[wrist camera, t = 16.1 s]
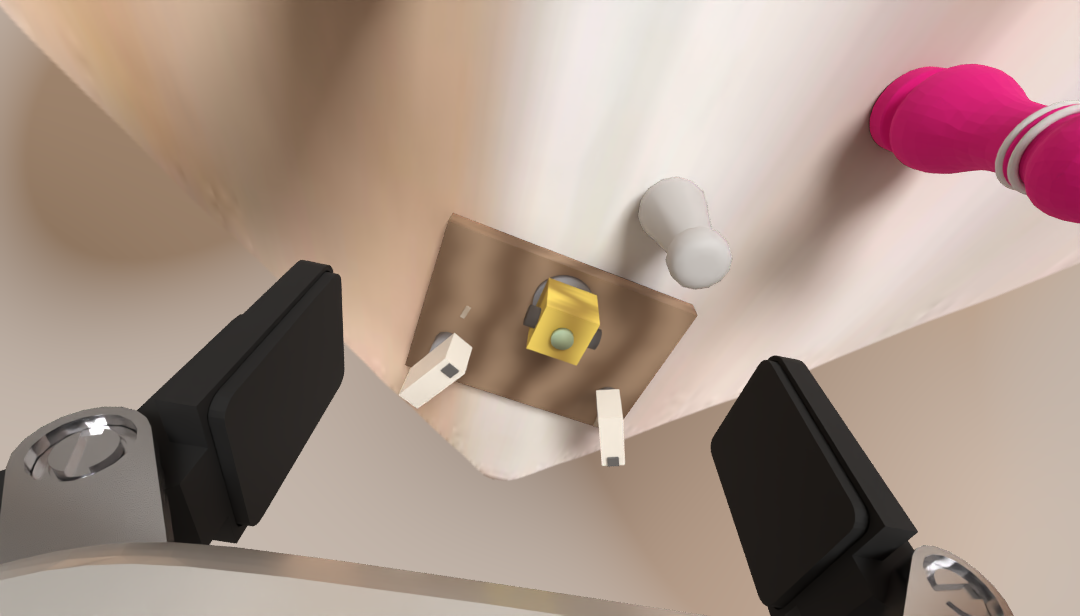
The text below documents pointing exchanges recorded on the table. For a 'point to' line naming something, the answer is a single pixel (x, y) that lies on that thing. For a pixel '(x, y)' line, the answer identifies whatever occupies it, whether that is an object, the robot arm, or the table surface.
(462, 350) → the knob left
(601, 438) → the knob right
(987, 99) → the pepper mill
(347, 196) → the table surface
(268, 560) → the robot arm
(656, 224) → the salt shaker
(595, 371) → the level base
